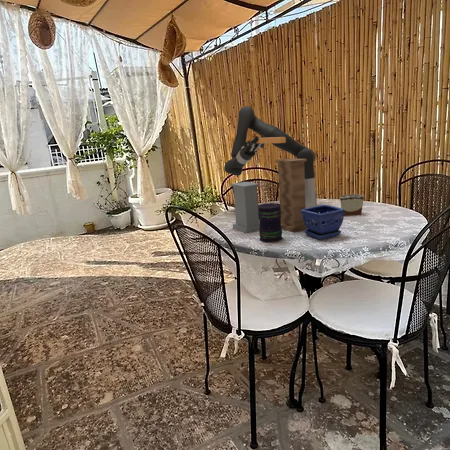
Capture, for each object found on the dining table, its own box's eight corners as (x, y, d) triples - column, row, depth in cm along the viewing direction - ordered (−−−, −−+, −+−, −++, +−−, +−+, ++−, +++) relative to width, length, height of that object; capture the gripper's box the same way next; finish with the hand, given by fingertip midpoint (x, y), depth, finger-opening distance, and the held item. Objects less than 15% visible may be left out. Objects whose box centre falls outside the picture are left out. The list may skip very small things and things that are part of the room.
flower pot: (320, 242, 146) (319, 214, 143) (300, 235, 158) (300, 208, 155) (345, 236, 151) (345, 208, 148) (325, 229, 163) (324, 204, 160)
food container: (361, 212, 187) (361, 193, 184) (364, 215, 181) (364, 195, 178) (336, 213, 188) (336, 195, 186) (339, 216, 182) (339, 197, 180)
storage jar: (279, 242, 150) (278, 208, 146) (257, 242, 153) (254, 208, 150) (284, 235, 159) (282, 202, 155) (262, 235, 162) (260, 203, 159)
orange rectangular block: (253, 143, 181) (253, 138, 181) (258, 142, 183) (258, 137, 182) (280, 143, 162) (280, 137, 162) (285, 142, 164) (285, 136, 163)
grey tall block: (232, 228, 178) (229, 184, 173) (249, 224, 183) (246, 181, 177) (245, 233, 168) (242, 186, 163) (263, 228, 173) (260, 183, 167)
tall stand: (277, 227, 173) (273, 160, 165) (293, 223, 177) (290, 158, 169) (293, 232, 163) (290, 161, 155) (310, 227, 167) (308, 158, 159)
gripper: (232, 149, 190) (246, 131, 175) (254, 146, 196) (269, 129, 181) (236, 162, 188) (251, 145, 173) (258, 159, 195) (274, 142, 180)
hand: (260, 137), depth 177 cm, fingers closed on orange rectangular block, 3 cm apart
